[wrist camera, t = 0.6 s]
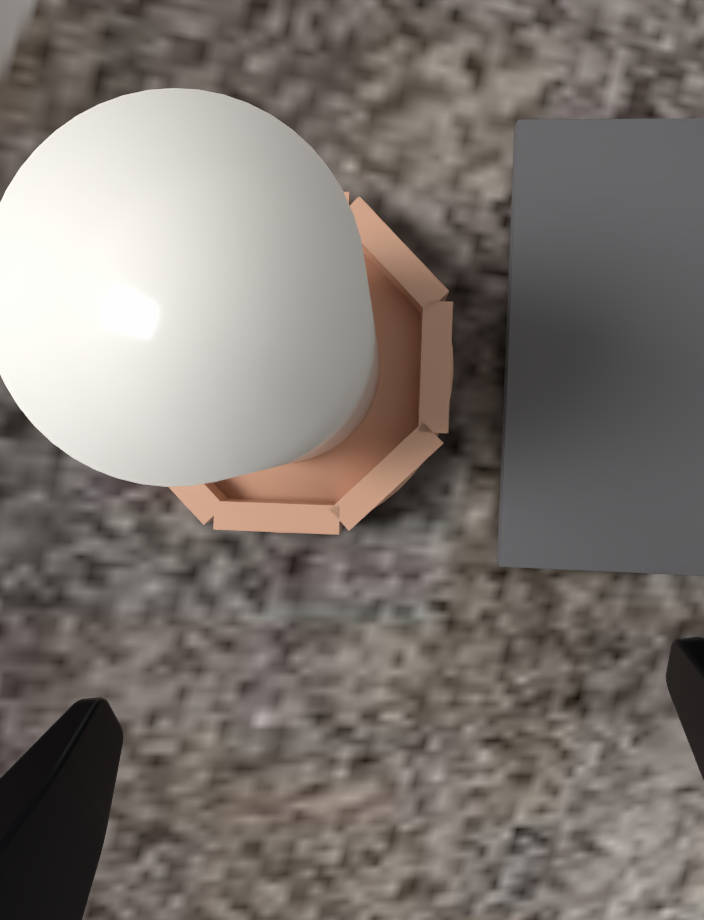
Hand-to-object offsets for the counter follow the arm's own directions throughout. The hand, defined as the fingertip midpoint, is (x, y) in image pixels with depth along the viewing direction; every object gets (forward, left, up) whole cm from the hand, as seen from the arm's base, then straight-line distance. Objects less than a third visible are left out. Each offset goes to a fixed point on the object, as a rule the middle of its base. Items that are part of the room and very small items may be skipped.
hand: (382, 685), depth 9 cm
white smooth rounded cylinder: (+6, +4, -12) cm, 14 cm away
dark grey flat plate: (+7, -10, -13) cm, 18 cm away
